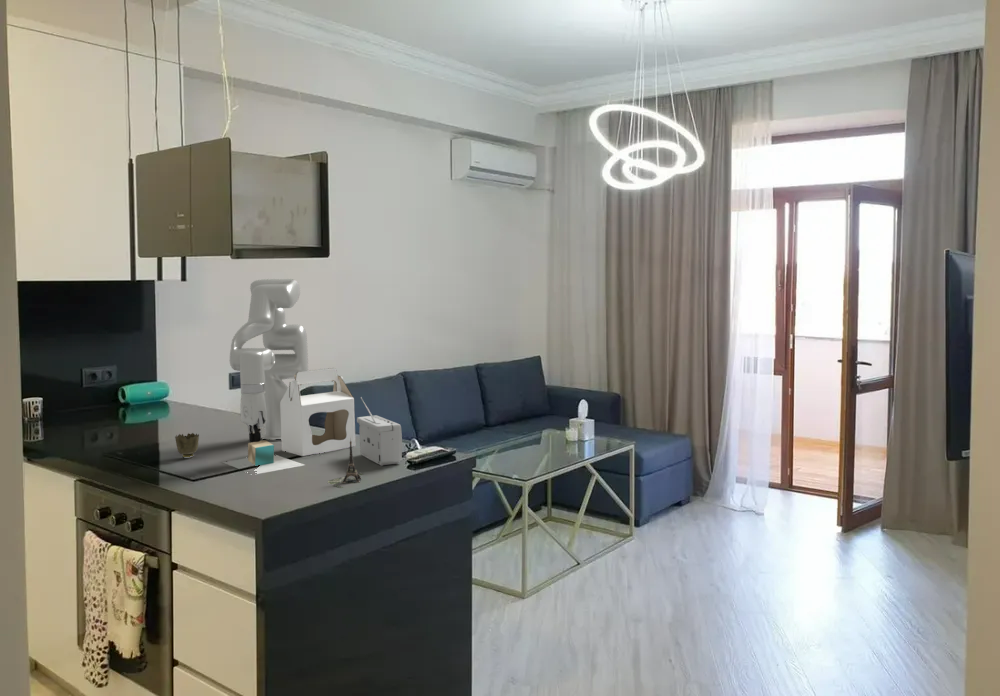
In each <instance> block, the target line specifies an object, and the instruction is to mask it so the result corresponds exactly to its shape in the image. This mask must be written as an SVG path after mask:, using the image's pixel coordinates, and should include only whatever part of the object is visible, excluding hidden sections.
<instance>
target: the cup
mask: <svg viewBox="0 0 1000 696" xmlns="http://www.w3.org/2000/svg"><path fill="white" fill-rule="evenodd" d="M199 437H200V434H199V433H198V434H197V433H194V432H192V433H189V432H188V433H187V435H184V434H183V433H182V434H180V433H179V434H178V435H177V434H176V435H175V436H174V439H175V445H176V449H177V452H178V453H179V454H181V457H182V456H183V457H190V456H193V455H194V453H197V451H198V448H199V440H200V438H199ZM194 456H195V455H194Z"/></svg>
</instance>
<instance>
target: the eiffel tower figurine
mask: <svg viewBox="0 0 1000 696" xmlns="http://www.w3.org/2000/svg"><path fill="white" fill-rule="evenodd" d="M350 440H351V438H350ZM351 468H352V469H351ZM363 475H364V473H362V472H359V473H358V470H357V469H356V467H355V463H354V458H353V447H352V442H351V441H350V448H349V460H348V466H347V469H346V472H345V476H341V477H337V478H333V479H329V480H327V482H328V483H330V484H329V485H333V484H334V485H335V484H336V485H335V486H334V485H333V486H334V487H337V488H343V486H341V485H340V484H357V483H361V481H362V479H363V478H362V477H361V476H363ZM349 477H350V478H349ZM351 477H352V478H351ZM328 483H327V484H328ZM339 485H340V486H341V487H340V486H339Z"/></svg>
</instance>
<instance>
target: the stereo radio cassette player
mask: <svg viewBox="0 0 1000 696" xmlns="http://www.w3.org/2000/svg"><path fill="white" fill-rule="evenodd" d="M360 399H361V402H363V404H364V406H365V408H366V410H367V412H368V414H369V415H367V416H359V417H358V416H357V417H356V423H357V424H358V425H359V426H358V427H359V452H360V455H361V456H363V457H365V458H366V459H368V460H370V461H372V462H374V463H376V464H378V465H380V466H381V467H382V466H388V465H398V464H399V462H402V458H403V457H402V456H403V438H402V437H403V435H402V426H401V424H399V423H397V422H395V421H393V420H389V419H387V418H384V417H382V416H379V415H377V414H376V415H373V414H372V412H371V411H370V409H369V407H368V406H367V404H366V403H365V402H364V399H363V397H362V396H361V397H360Z"/></svg>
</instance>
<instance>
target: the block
mask: <svg viewBox="0 0 1000 696" xmlns="http://www.w3.org/2000/svg"><path fill="white" fill-rule="evenodd" d="M247 450H248V451H247V457H248V461H249V462H251V463H252V464H254V465H255V466H258V465H265V464H271V463H274V454H275V445H274V444H273V443H271V442H269V440H261V441H258V442H251V443H250V442H248V443H247Z"/></svg>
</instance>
